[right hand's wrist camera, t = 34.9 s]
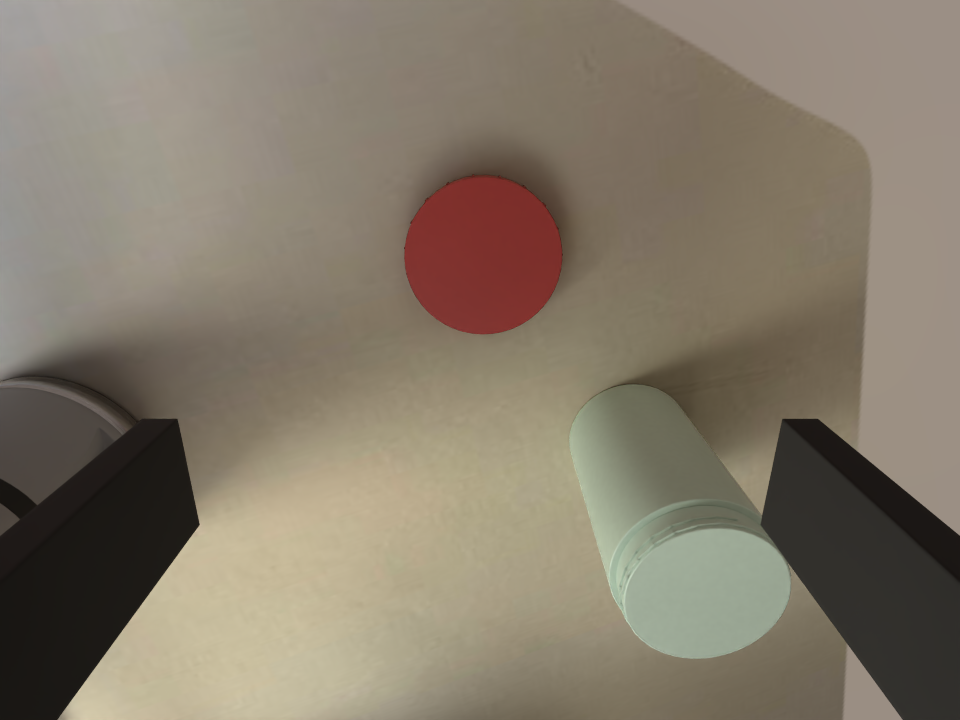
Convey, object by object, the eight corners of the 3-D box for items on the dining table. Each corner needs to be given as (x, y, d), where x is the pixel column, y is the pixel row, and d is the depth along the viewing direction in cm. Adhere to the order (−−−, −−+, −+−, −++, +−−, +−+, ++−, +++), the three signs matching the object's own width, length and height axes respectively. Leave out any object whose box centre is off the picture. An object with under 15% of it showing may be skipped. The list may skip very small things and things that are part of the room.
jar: (701, 392, 41) (825, 533, 26) (669, 494, 44) (765, 672, 29) (582, 376, 40) (640, 511, 26) (558, 480, 44) (599, 654, 29)
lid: (455, 141, 35) (453, 142, 33) (589, 226, 37) (595, 230, 35) (381, 279, 38) (375, 286, 36) (508, 350, 40) (509, 361, 38)
